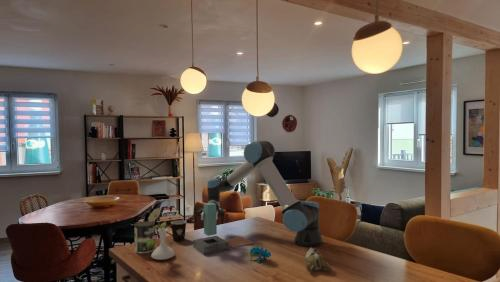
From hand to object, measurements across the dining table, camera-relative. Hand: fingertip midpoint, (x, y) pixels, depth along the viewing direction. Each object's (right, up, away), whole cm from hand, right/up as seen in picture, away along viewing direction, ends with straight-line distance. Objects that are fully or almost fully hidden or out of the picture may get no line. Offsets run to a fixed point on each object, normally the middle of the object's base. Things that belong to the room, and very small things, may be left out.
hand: (209, 217), depth 170 cm
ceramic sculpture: (+51, -18, -22) cm, 58 cm away
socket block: (0, -18, +5) cm, 19 cm away
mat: (+14, -18, +15) cm, 27 cm away
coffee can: (-34, -18, +4) cm, 39 cm away
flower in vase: (-22, -18, -8) cm, 30 cm away
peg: (0, -10, +5) cm, 11 cm away
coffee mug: (-22, -18, +21) cm, 35 cm away
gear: (+26, -18, -11) cm, 34 cm away
